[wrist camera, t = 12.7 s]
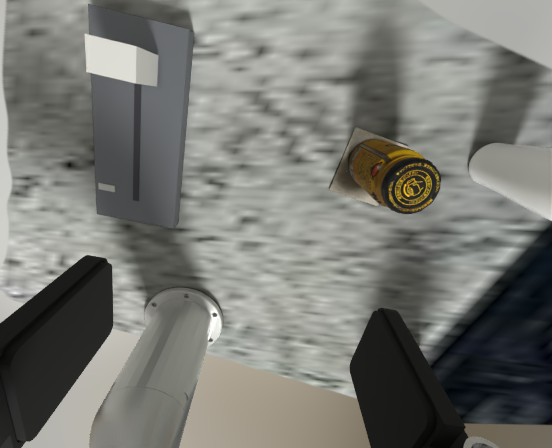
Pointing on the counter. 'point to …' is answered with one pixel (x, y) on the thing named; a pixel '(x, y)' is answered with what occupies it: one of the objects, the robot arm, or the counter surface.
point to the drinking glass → (516, 174)
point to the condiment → (386, 174)
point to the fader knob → (120, 61)
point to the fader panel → (141, 122)
